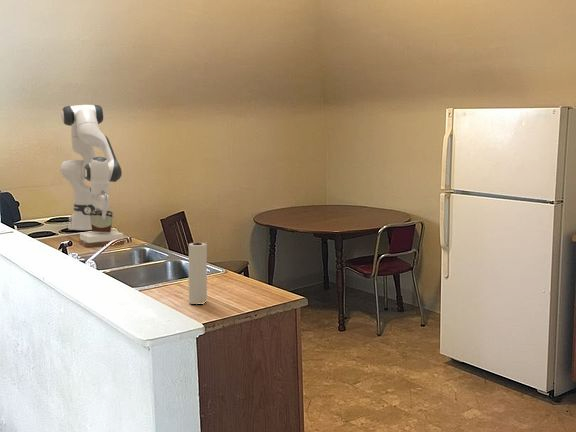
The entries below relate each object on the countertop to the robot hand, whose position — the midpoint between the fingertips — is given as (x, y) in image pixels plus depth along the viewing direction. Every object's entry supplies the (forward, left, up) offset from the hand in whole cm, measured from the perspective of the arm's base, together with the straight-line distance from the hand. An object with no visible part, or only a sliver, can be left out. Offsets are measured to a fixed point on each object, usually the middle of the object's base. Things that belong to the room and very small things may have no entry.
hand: (101, 217), depth 335 cm
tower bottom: (0, 0, -14) cm, 14 cm away
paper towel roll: (+121, +1, -14) cm, 122 cm away
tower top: (0, 0, -11) cm, 11 cm away
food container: (0, +1, -7) cm, 7 cm away
